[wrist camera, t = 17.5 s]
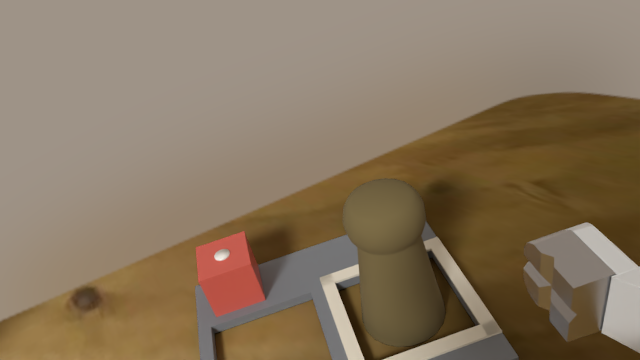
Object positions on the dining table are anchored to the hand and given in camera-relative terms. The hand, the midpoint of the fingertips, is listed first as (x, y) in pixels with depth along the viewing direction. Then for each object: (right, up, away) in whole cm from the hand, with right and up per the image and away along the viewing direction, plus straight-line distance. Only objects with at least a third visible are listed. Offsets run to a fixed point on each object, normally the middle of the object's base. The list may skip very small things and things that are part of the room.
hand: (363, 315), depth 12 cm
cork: (+5, -7, +27) cm, 28 cm away
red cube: (-8, -6, +31) cm, 32 cm away
